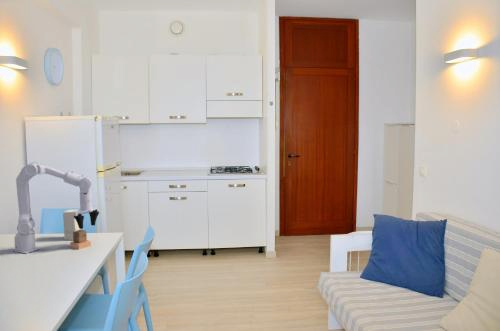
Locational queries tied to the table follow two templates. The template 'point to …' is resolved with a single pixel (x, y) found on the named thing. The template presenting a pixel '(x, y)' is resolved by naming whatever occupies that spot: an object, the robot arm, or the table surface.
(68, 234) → the skincare box
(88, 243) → the terracotta block
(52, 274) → the table surface
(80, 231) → the walnut block
